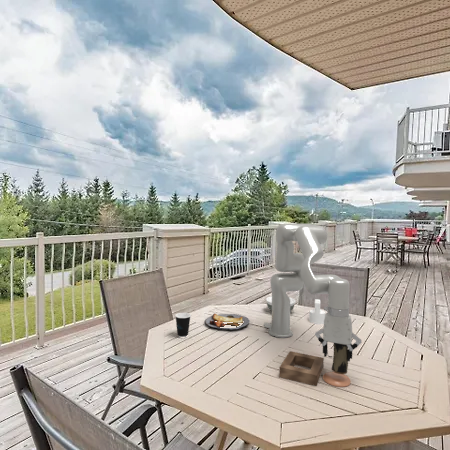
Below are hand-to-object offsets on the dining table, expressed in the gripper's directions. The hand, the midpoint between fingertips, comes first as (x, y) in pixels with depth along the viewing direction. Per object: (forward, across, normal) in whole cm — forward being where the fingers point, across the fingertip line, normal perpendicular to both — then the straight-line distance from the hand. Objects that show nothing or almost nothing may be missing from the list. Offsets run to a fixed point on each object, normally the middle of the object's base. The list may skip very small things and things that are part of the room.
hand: (337, 357), depth 121 cm
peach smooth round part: (+9, 0, 0) cm, 9 cm away
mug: (+5, 0, 0) cm, 5 cm away
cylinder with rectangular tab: (+9, -18, +64) cm, 67 cm away
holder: (+9, -13, 0) cm, 16 cm away
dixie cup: (+9, -75, +9) cm, 76 cm away
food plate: (+9, -63, +36) cm, 73 cm away
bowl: (+9, -42, +71) cm, 83 cm away
